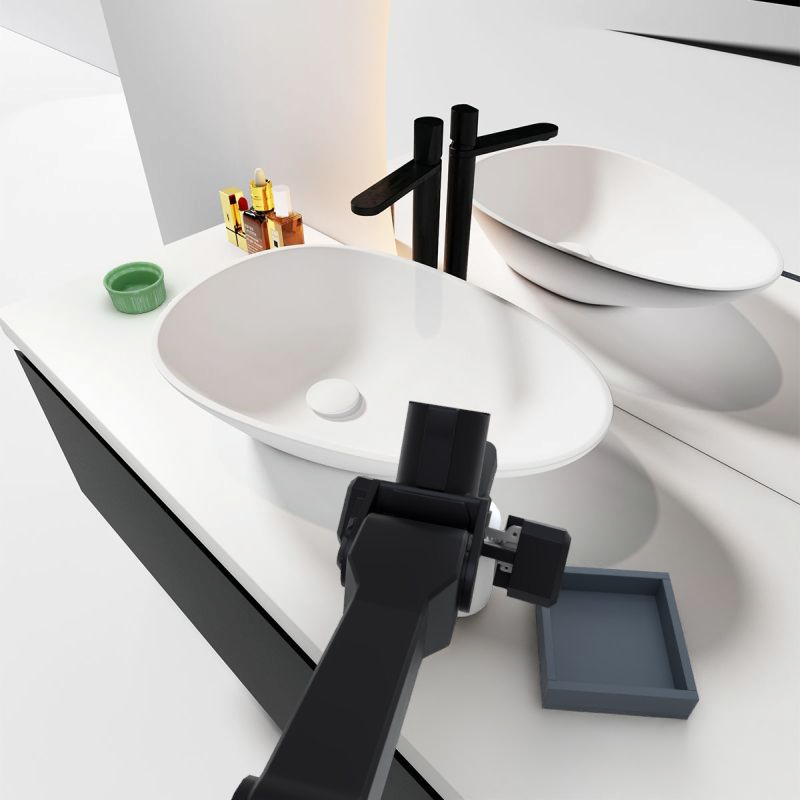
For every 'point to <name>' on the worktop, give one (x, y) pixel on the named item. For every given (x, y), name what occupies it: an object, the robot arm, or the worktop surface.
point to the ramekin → (136, 286)
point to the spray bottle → (484, 571)
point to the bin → (615, 646)
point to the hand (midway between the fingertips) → (465, 529)
